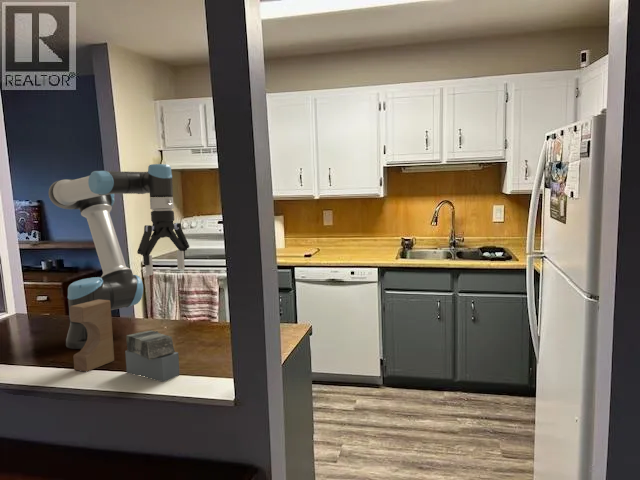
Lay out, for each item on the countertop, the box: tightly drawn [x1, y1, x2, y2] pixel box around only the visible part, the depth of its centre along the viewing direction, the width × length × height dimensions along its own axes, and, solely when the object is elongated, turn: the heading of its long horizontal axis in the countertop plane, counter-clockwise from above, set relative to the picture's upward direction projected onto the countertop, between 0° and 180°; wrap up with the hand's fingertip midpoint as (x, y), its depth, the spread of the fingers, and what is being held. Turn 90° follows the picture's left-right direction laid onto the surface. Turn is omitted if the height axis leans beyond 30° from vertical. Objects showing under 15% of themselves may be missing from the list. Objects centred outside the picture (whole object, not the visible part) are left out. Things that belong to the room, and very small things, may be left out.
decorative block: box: [69, 299, 115, 372], centre depth 153 cm, size 11×6×20 cm, turn 154°
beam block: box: [124, 349, 181, 383], centre depth 145 cm, size 16×6×7 cm, turn 59°
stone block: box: [125, 329, 176, 360], centre depth 144 cm, size 9×14×5 cm, turn 44°
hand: (165, 271), depth 168 cm, fingers open, 13 cm apart
